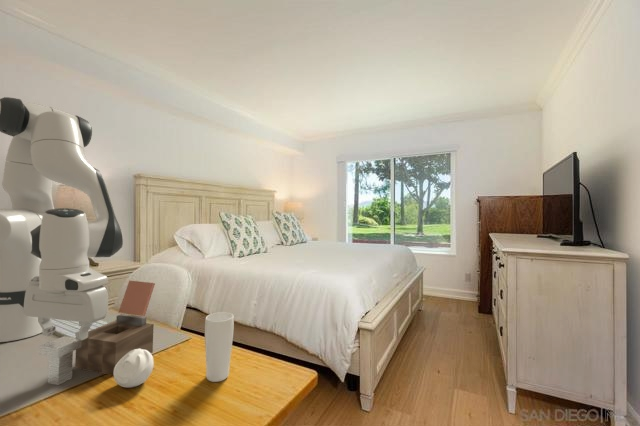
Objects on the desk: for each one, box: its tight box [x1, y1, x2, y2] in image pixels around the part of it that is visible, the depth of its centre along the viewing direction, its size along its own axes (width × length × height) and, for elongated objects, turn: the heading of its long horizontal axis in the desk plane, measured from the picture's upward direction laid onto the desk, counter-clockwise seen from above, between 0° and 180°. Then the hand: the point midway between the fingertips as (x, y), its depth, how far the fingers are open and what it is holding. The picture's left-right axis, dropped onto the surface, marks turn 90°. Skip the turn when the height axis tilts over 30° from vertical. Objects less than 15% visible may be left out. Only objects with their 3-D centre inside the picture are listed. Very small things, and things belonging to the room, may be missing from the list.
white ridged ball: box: [113, 348, 155, 389], centre depth 68 cm, size 8×8×8 cm
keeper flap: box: [118, 280, 156, 317], centre depth 84 cm, size 9×8×1 cm
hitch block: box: [74, 313, 154, 376], centre depth 78 cm, size 12×12×10 cm
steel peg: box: [39, 335, 82, 386], centre depth 68 cm, size 5×5×9 cm
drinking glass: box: [204, 311, 235, 383], centre depth 72 cm, size 7×7×15 cm
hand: (65, 337), depth 68 cm, fingers open, 8 cm apart
